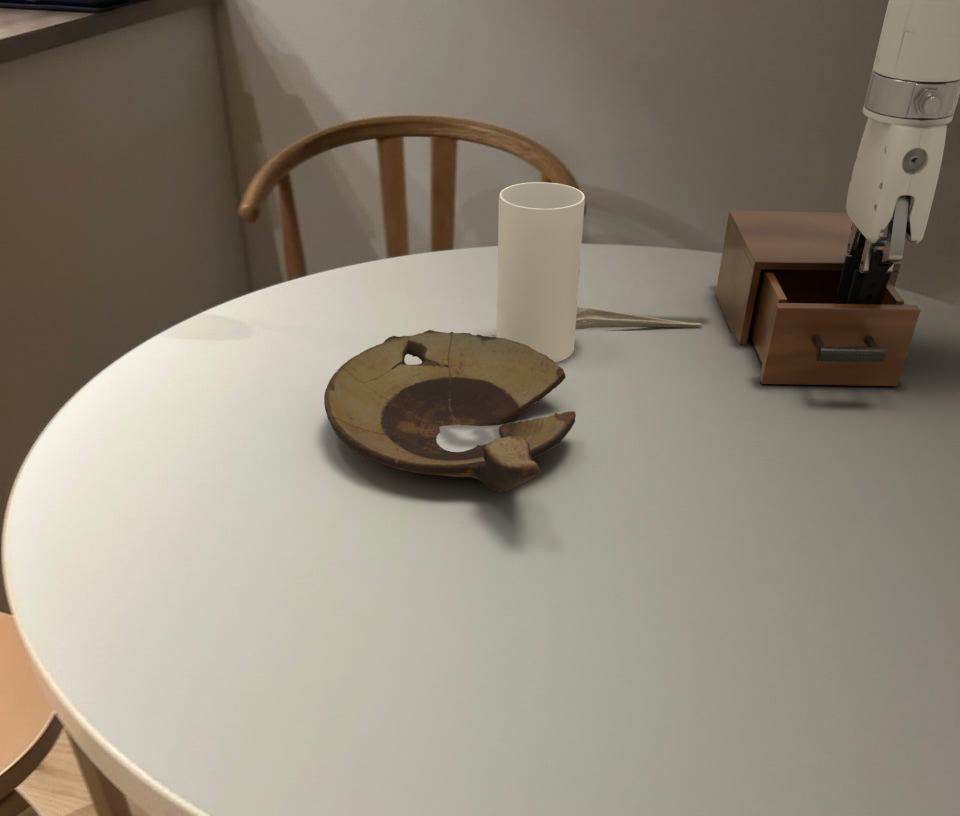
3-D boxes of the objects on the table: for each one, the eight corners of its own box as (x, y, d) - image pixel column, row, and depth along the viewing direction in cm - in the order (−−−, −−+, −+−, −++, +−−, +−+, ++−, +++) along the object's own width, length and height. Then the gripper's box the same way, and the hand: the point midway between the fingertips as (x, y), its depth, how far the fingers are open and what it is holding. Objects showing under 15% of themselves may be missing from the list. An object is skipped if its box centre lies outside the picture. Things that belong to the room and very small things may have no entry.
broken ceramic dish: (563, 378, 101) (568, 305, 96) (586, 553, 78) (594, 468, 73) (343, 376, 101) (337, 302, 96) (302, 550, 78) (291, 465, 73)
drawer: (910, 407, 95) (935, 328, 90) (769, 404, 95) (786, 326, 90) (858, 325, 109) (878, 253, 104) (736, 323, 109) (749, 251, 104)
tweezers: (546, 335, 108) (548, 317, 107) (543, 318, 112) (545, 300, 111) (703, 346, 109) (707, 328, 108) (695, 328, 113) (699, 311, 112)
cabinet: (875, 354, 105) (901, 264, 99) (737, 352, 106) (754, 261, 99) (839, 296, 117) (860, 212, 111) (715, 294, 117) (729, 210, 111)
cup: (484, 362, 103) (486, 202, 93) (512, 331, 109) (516, 177, 99) (558, 376, 101) (569, 214, 91) (583, 344, 107) (595, 188, 96)
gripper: (989, 122, 80) (920, 340, 92) (925, 76, 92) (872, 274, 104) (895, 121, 80) (839, 339, 92) (844, 75, 92) (800, 273, 104)
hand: (857, 302), depth 98 cm, fingers closed
